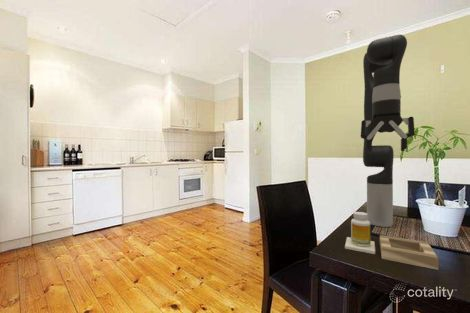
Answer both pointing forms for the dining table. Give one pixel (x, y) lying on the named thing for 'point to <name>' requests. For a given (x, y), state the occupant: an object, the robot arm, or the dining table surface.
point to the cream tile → (360, 248)
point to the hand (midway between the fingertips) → (386, 151)
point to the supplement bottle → (360, 229)
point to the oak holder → (408, 252)
